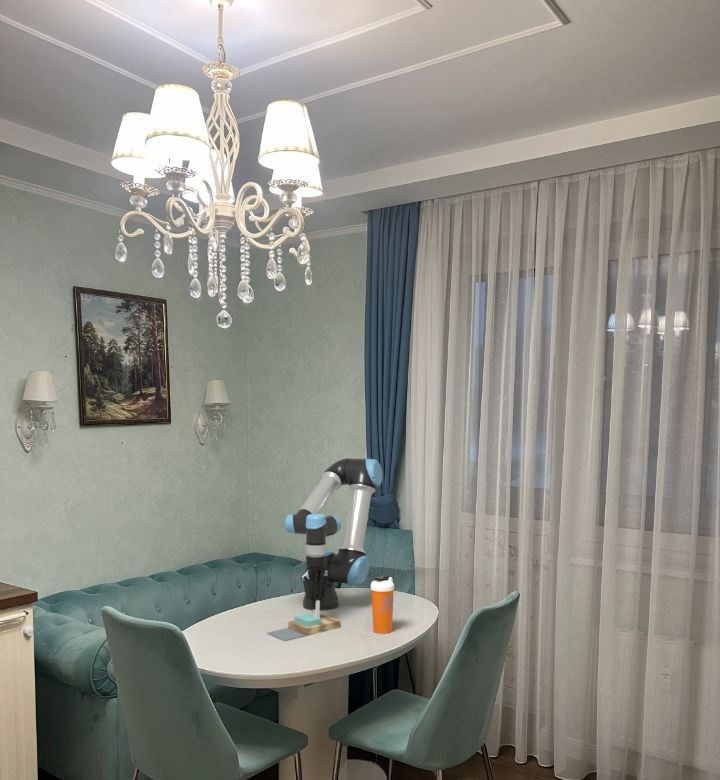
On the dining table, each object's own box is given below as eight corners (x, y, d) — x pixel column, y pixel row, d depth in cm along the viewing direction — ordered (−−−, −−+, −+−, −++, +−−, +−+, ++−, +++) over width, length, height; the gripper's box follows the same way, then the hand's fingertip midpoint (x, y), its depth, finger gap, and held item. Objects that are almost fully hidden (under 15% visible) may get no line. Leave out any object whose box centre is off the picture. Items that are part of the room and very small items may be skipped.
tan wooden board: (321, 620, 280) (321, 614, 280) (340, 627, 271) (340, 620, 271) (288, 628, 270) (288, 621, 270) (306, 635, 261) (306, 629, 261)
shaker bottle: (365, 631, 266) (365, 577, 267) (381, 625, 273) (381, 573, 273) (383, 636, 260) (383, 580, 261) (399, 630, 266) (399, 576, 267)
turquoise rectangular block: (307, 618, 274) (307, 613, 274) (321, 623, 267) (321, 618, 267) (294, 621, 270) (294, 616, 270) (308, 627, 263) (308, 621, 263)
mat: (286, 628, 270) (286, 628, 270) (305, 636, 261) (305, 635, 261) (266, 633, 264) (266, 632, 264) (285, 641, 255) (284, 640, 255)
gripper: (323, 551, 279) (323, 612, 278) (296, 555, 271) (296, 618, 270) (335, 554, 273) (335, 616, 272) (308, 558, 265) (308, 622, 264)
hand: (316, 617), depth 271 cm, fingers closed
